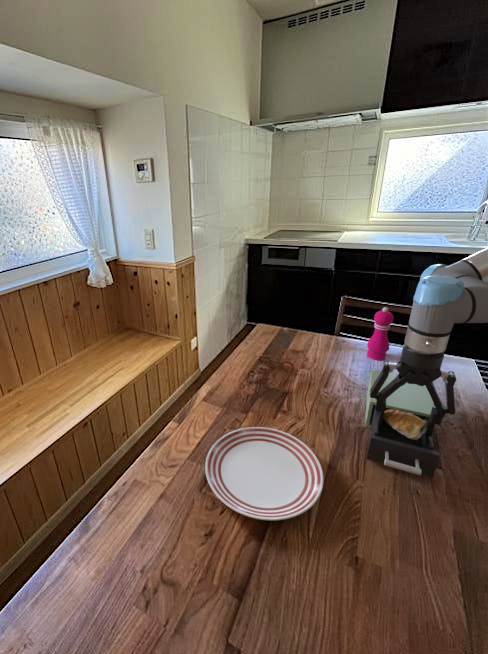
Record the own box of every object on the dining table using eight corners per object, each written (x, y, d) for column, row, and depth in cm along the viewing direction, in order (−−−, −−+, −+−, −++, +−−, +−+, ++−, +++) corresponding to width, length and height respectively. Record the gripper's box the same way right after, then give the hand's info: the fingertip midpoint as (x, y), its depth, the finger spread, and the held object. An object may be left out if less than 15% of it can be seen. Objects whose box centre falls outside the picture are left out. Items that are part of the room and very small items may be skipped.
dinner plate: (182, 472, 84) (182, 462, 82) (254, 420, 99) (254, 411, 98) (273, 559, 64) (274, 548, 63) (344, 477, 80) (346, 467, 78)
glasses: (293, 373, 120) (294, 361, 118) (281, 393, 110) (282, 380, 108) (259, 364, 127) (259, 352, 125) (244, 382, 117) (244, 369, 115)
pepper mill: (370, 349, 132) (379, 302, 123) (390, 355, 126) (401, 307, 118) (361, 356, 127) (370, 307, 119) (382, 363, 122) (392, 313, 114)
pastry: (375, 422, 85) (378, 410, 83) (388, 410, 88) (391, 398, 87) (416, 443, 78) (420, 430, 76) (429, 430, 81) (433, 417, 80)
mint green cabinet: (428, 442, 88) (436, 416, 84) (364, 426, 94) (370, 401, 91) (421, 404, 101) (428, 380, 98) (366, 392, 108) (371, 369, 104)
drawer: (435, 492, 74) (443, 469, 71) (365, 471, 80) (370, 449, 77) (425, 433, 89) (431, 412, 87) (368, 419, 95) (372, 399, 93)
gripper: (366, 346, 75) (352, 424, 84) (494, 365, 65) (462, 451, 74) (367, 332, 81) (354, 406, 90) (484, 348, 71) (456, 429, 80)
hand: (403, 426), depth 82 cm, fingers closed on pastry, 9 cm apart
